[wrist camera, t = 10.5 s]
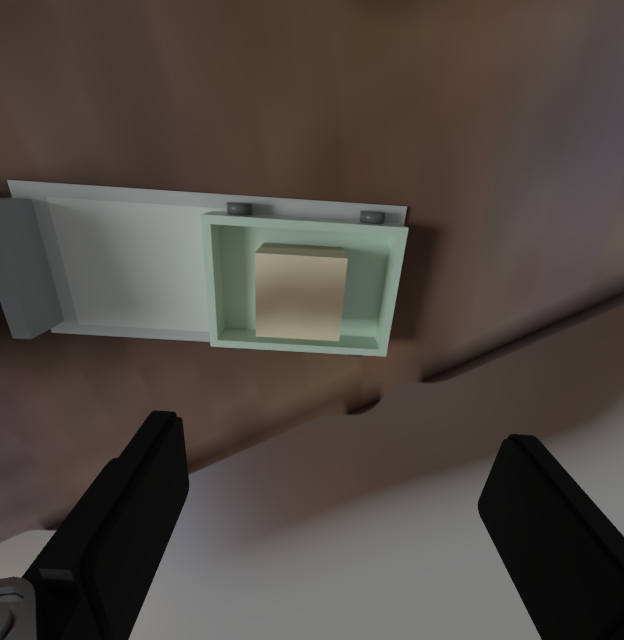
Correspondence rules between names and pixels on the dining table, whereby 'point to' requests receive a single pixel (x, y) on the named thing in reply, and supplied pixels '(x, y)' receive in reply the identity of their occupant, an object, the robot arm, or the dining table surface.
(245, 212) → the cart
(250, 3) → the dining table surface
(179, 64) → the dining table surface
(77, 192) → the track
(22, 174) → the dining table surface
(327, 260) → the beige square block
